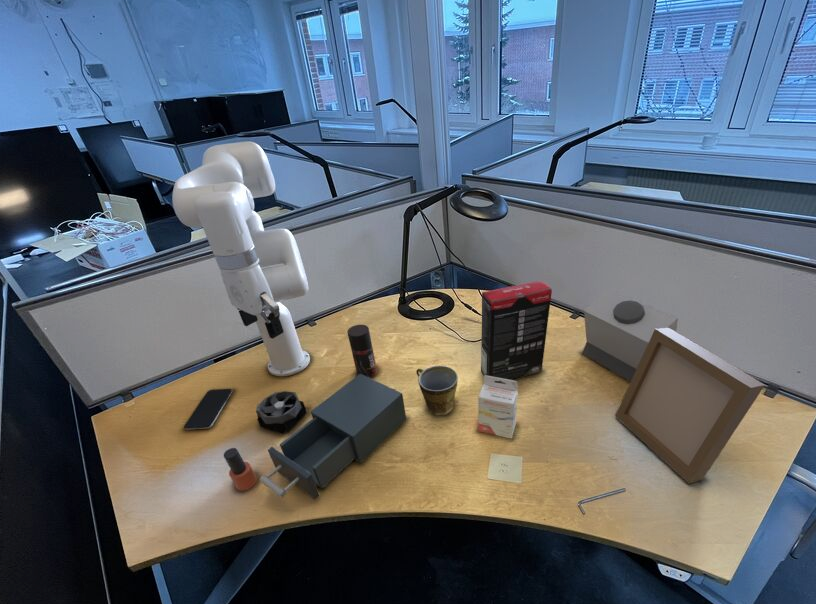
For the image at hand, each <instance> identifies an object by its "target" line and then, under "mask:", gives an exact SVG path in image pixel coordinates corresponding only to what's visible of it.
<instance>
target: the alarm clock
mask: <svg viewBox="0 0 816 604" xmlns="http://www.w3.org/2000/svg"><path fill="white" fill-rule="evenodd" d="M583 314H584V315H583V317H584V328H585V339H586V342H585V345H584V347H583V350H582V353H581V354H582V355H584V356H585V357H588V359H591V360H593V361H594V362H596V363H598V365H599V364H600V365H601V366H603V367H605V368H606V369H608V370H609V371H611V372H613V373H614V374H616V375H618V376H620V377H622V378H623V379H625V380H626V381H628V382H631V380H632V378H633V376H634V373H635V371H636V369H637V367H638V365H639V363H640V360H641V358H642V356H643V354H644V352H645V350H646V347H647V345H648V343H649V341H650V339H651V337H652V334H653V332H654V330H655V329H659V328H670V329H672V330H673V331H675V332H677V329H678V321H679V317H677V316H674V315H673V314H669V313H668V312H666V311H663V310H661V309H659V308H656V307H653V306H651V305H649V304H646V303H644V302H642V301H639V300H637V299H634V298H632V297H630V296H627V295H626V294H623V293H621V292H618V291H616V290H614V289H611V288H608V289H607V290H606V291H605V292H604V293H602V294H601V295H600V296H598V298H597V299H596V300H594V301H593V302H592V303H590V305H588V306H587V307H586V308H585V309H584V310H583Z"/></svg>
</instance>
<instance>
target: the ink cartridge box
mask: <svg viewBox="0 0 816 604" xmlns="http://www.w3.org/2000/svg"><path fill="white" fill-rule="evenodd" d="M494 381H502V382H499V383H496V382H494ZM518 392H519V391H518V381H517V380H514V379H511V380H508V379H503V378H498V377H492V376H487V375H484V376H483V384H482V386H481V389H480V392H479V395H478V397H477V398H478V400H477V403H478V405H477V410H478V412H477V415H478V417H477V420H478V421H477V422H478V425H477V426H478V427H477V428H478V432H481V433H486V434H489V435H494V436H497V437H502V438H507V439H513V436H514V431H515V428H516V424H517V406H518V395H519V394H518Z"/></svg>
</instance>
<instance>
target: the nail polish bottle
mask: <svg viewBox="0 0 816 604" xmlns="http://www.w3.org/2000/svg"><path fill="white" fill-rule="evenodd" d="M223 458H224V459H225V461H226V463H227V465H228V467H229V471H228V475H229V477H230V479H231V481H232V483H233V484H234V486H235V488H236V489H237V490H238V491H247V490H249V489H251V488H253V487H254V486H255V485H256V483H257V481H258V478H257V475H256V473H255V471H254V470H253V467H252V466H251V464H250V463H249V461H245V460H243V456H242V455H241V454H240V451H239V450H238V448H237V447H231V448H228V449H226V450H225V451H224V453H223Z"/></svg>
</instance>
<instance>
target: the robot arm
mask: <svg viewBox="0 0 816 604" xmlns="http://www.w3.org/2000/svg"><path fill="white" fill-rule="evenodd" d="M275 191H276V180H275V176H274V173H273V171H272V168H271V165H270V162H269V159H268V156H267V155H266V153H265V151H264V149H263V148H262V147H261V146H260V145H259V144H258V143H256V142H254V141H239V142H233V143H232V142H231V143H223V144H216V145H212V146H211V147H208V148H207V149H206V150H205V151H204V153H203V154H202V162H201V166H199V167H196V168H194V169H193V170H191V171H189V172H188V173H185V174H184V175H182V176H180V177H179V178H178V179H177V180H175V182H174V185H173V190H172V197H171V198H172V200H171V201H172V208H173V210H174V213H175V215H176V217H177V218H178V219H179V221H180V222H181V224H183V225H184V226H186V227H189V228H192V229H197V228H199V229H200V228H202V230H203V232H204V234H205V237H206V239H207V242H208V244H209V246H210V248H211V251H212V254H213V257H214V259H215V261H216V264H217V266H218V268H219V271H220V276H221V278H222V282H223V285H224V288H225V291H226V293H227V296H228V299H229V301H230V303H231V305H232V306H233V307H235V308H236V310H237V311H238V313H239V316H240V319H241V321H242V324H243V325H244V326H245V327H248V326H250V325H252V324H254V323H255V324H256V326H257V329H258V331H259V334H260V336H261V339H262V342H263V344H264V347H265V351H266V353H267V355H268V357H269V361H268V363H267V370H268V372H269V374H270V375H272V376H275V377H288V376H292V375H296V374H298V373H300V372H301V371H304V369H305V368H307V367H308V366H309V364H310V362H311V357H310V354H309V353H308V352H307V351H306V350H303V349H302V345H301V342H300V340H299V336H298V333H297V330H296V327H295V324H294V320H293V318H292V315H291V313H290V310H289V309H288V308H287V307H286V306H285V305H284V304H283V303H282V301H287V300H292V299H296V298H301V297H303V296H305V295H306V294H308V291H309V281H308V278H307V274H306V270H305V267H304V264H303V261H302V257H301V254H300V250H299V246H298V244H297V241H296V238H295V236H294V235H293V233H292V232H291V231H290V230H289V229H287V228H281V227H280V228H273V229H268V230H265V228H264V225H263V221H262V218H261V216H260V215H259V214H258V213H257V212H256V211H255V200H254V199H257V198H265V197H268V196H269V197H270V196H271V195H273V194H274V193H275Z"/></svg>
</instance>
